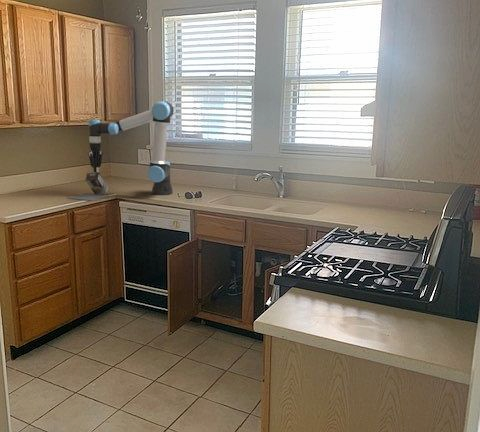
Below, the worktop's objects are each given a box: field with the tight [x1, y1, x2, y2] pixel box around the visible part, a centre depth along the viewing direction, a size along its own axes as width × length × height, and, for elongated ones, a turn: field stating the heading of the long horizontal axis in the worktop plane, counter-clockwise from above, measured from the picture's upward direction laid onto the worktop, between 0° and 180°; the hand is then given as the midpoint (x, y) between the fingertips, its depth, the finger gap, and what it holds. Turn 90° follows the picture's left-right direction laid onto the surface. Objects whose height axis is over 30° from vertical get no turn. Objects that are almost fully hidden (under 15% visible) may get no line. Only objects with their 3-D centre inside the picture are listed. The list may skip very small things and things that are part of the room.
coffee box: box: [85, 171, 109, 195], centre depth 330 cm, size 9×6×16 cm
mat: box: [67, 192, 109, 202], centre depth 324 cm, size 20×18×1 cm
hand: (96, 176), depth 330 cm, fingers closed
